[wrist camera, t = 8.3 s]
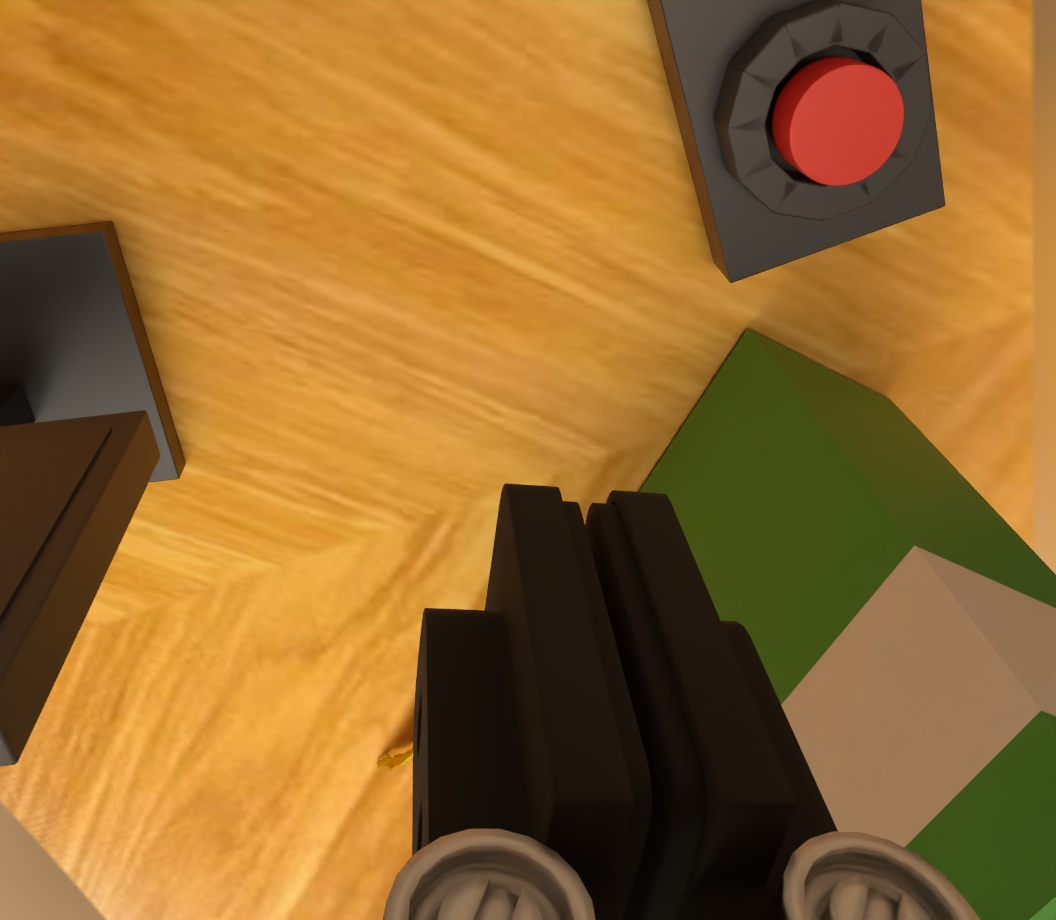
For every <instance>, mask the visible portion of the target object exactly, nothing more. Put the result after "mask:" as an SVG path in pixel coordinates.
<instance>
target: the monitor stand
mask: <svg viewBox="0 0 1056 920" xmlns="http://www.w3.org/2000/svg"><path fill="white" fill-rule="evenodd" d="M142 410H146V411H147V413H148V416H149V420H150V423H151V426H152V429H153V432H154V435H155V439H156V442H157V445H158V448H159V451H160V454H161V456H160V459H159V461H158V463H157V465H156V467H155V470H154V472H153V474H152V476H151V478H150V480H149V482H156V481H165V480H173V479H179V478H180V476H181V473H182V471H183V469H184V466H185V461H184V457H183V454H182V451H181V447H180V444H179V441H178V438H177V434H176V431H175V428H174V424H173V421H172V418H171V414H170V411H169V408H168V405H167V401H166V398H165V395H164V391H163V388H162V385H161V381H160V378H159V375H158V372H157V368H156V365H155V362H154V358H153V355H152V352H151V348H150V345H149V342H148V339H147V335H146V332H145V329H144V325H143V322H142V319H141V315H140V312H139V309H138V306H137V302H136V299H135V296H134V292H133V289H132V286H131V282H130V279H129V276H128V273H127V269H126V266H125V263H124V259H123V256H122V253H121V249H120V246H119V243H118V240H117V236H116V233H115V230H114V226H113V223H112V222H102V223H93V224H83V225H74V226H64V227H55V228H46V229H36V230H27V231H17V232H8V233H0V427H2V426H11V425H20V424H28V423H37V422H46V421H54V420H63V419H72V418H81V417H89V416H98V415H107V414H115V413H124V412H133V411H142Z"/></svg>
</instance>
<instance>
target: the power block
mask: <svg viewBox="0 0 1056 920" xmlns="http://www.w3.org/2000/svg"><path fill="white" fill-rule="evenodd" d="M647 2H648V6H649V10H650V14H651V18H652V21H653V25H654V29H655V33H656V37H657V41H658V45H659V49H660V53H661V57H662V61H663V65H664V69H665V73H666V76H667V80H668V84H669V88H670V92H671V96H672V100H673V104H674V108H675V112H676V116H677V120H678V124H679V128H680V131H681V135H682V139H683V143H684V147H685V151H686V155H687V159H688V163H689V167H690V171H691V175H692V179H693V182H694V186H695V190H696V194H697V198H698V202H699V206H700V210H701V214H702V218H703V222H704V226H705V230H706V234H707V237H708V241H709V245H710V249H711V253H712V257H713V261H714V263H715V265H716V266H717V267H718V268H719V269H720V271H721V272H722V273H723V274H724V276H725V277H726V278H727V279H728V281H729V282H730V283H733V282H736V281H738V280H741V279H744V278H747V277H749V276H752V275H755V274H758V273H761V272H763V271H766V270H769V269H772V268H774V267H777V266H780V265H783V264H786V263H788V262H791V261H794V260H797V259H799V258H802V257H805V256H808V255H811V254H813V253H816V252H819V251H822V250H824V249H827V248H830V247H833V246H836V245H838V244H841V243H844V242H847V241H849V240H852V239H855V238H858V237H861V236H863V235H866V234H869V233H872V232H874V231H877V230H880V229H883V228H886V227H888V226H891V225H894V224H897V223H899V222H902V221H905V220H908V219H911V218H913V217H916V216H919V215H922V214H924V213H927V212H930V211H933V210H936V209H938V208H941V207H944V206H945V199H944V190H943V182H942V174H941V165H940V157H939V148H938V140H937V131H936V123H935V114H934V106H933V98H932V89H931V81H930V72H929V64H928V55H927V47H926V38H925V30H924V22H923V13H922V5H921V0H647ZM831 56H842V57H848V58H851V59H854V60H857V61H860V62H863V63H865V64H868V65H871V66H874V67H876V68H878V69H880V70H882V71H883V72H885V73H886V74H887V75H888V76H890V77H891V78H892V80H893V81H894V82H895V84H896V85H897V87H898V89H899V91H900V93H901V96H902V99H903V104H904V123H903V129H902V132H901V136H900V139H899V141H898V143H897V145H896V147H895V149H894V151H893V152H892V154H891V155H890V157H889V158H888V159H887V160H886V162H885V163H884V164H883V165H882V166H881V167H880V168H879V169H877V170H876V171H875V172H874V173H872V174H871V175H869V176H868V177H866V178H864V179H862V180H860V181H858V182H855V183H852V184H848V185H842V186H830V185H824V184H820V183H818V182H816V181H813V180H812V179H810V178H809V177H807V176H806V175H804V174H803V173H802V172H800V171H799V170H797V169H796V168H794V167H793V166H792V165H790V164H789V163H788V162H787V161H786V160H785V159H784V158H783V157H782V156H781V154H780V152H779V151H778V149H777V147H776V144H775V141H774V138H773V132H772V118H773V112H774V108H775V104H776V102H777V99H778V97H779V95H780V93H781V91H782V89H783V88H784V86H785V85H786V83H787V82H788V81H789V80H790V78H791V77H792V76H793V75H794V74H795V73H796V72H798V71H799V70H800V69H802V68H803V67H804V66H806V65H808V64H809V63H811V62H814V61H816V60H818V59H822V58H825V57H831Z"/></svg>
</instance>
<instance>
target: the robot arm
mask: <svg viewBox="0 0 1056 920" xmlns="http://www.w3.org/2000/svg"><path fill="white" fill-rule="evenodd" d="M383 920H980V919H979V918H978V916H977V915H976V913H975V912H974V910H973V909H972V908H971V906H970V905H969V903H968V902H967V901H966V899H965V898H964V897H963V896H962V895H961V894H960V892H959V891H958V890H957V889H956V888H955V887H954V886H953V884H952V883H951V882H950V881H949V880H948V879H947V878H946V876H945V875H944V874H942V873H941V872H940V871H938V870H937V869H936V868H935V867H933V866H932V865H931V864H929V863H928V862H927V861H925V860H924V859H923V858H922V857H920V856H919V855H918V854H916V853H914V852H912V851H910V850H908V849H906V848H904V847H902V846H900V845H898V844H896V843H894V842H892V841H890V840H888V839H884V838H880V837H876V836H873V835H869V834H865V833H861V832H838V830H837V828H836V826H835V823H834V821H833V819H832V817H831V814H830V812H829V810H828V808H827V806H826V803H825V801H824V799H823V797H822V794H821V792H820V790H819V788H818V786H817V783H816V781H815V779H814V777H813V774H812V772H811V770H810V768H809V766H808V763H807V761H806V759H805V757H804V754H803V752H802V750H801V748H800V746H799V743H798V741H797V739H796V737H795V734H794V732H793V730H792V728H791V726H790V723H789V721H788V719H787V717H786V714H785V712H784V710H783V708H782V706H781V703H780V701H779V699H778V697H777V694H776V692H775V690H774V688H773V686H772V683H771V681H770V679H769V677H768V674H767V672H766V670H765V668H764V666H763V663H762V661H761V659H760V657H759V655H758V652H757V650H756V648H755V646H754V643H753V641H752V639H751V637H750V635H749V633H748V632H747V630H746V629H745V627H744V626H743V625H742V624H740V623H739V622H737V621H720V618H719V616H718V613H717V611H716V609H715V606H714V604H713V601H712V599H711V597H710V594H709V592H708V589H707V587H706V585H705V582H704V580H703V578H702V575H701V573H700V570H699V568H698V566H697V563H696V561H695V558H694V556H693V554H692V551H691V549H690V546H689V544H688V542H687V539H686V537H685V535H684V532H683V530H682V527H681V525H680V523H679V520H678V518H677V515H676V513H675V511H674V508H673V506H672V503H671V501H670V499H669V498H668V496H667V495H666V494H663V493H647V492H631V491H615V490H613V491H612V492H611V493H610V495H609V497H608V499H607V503H606V504H601V503H592V504H591V505H590V508H589V510H588V514H587V519H586V524H585V525H584V521H583V517H582V513H581V510H580V506H579V504H578V503H577V502H568V501H562V497H561V493H560V490H559V488H558V487H551V486H535V485H519V484H504V486H503V489H502V493H501V498H500V505H499V512H498V519H497V526H496V533H495V540H494V548H493V555H492V562H491V569H490V576H489V584H488V591H487V598H486V605H485V611H482V610H458V609H434V608H425V609H424V613H423V618H422V627H421V636H420V646H419V656H418V667H417V678H416V692H415V709H414V732H413V843H412V858H411V859H410V860H409V861H408V862H407V863H406V865H405V866H404V867H403V868H402V869H401V871H400V872H399V873H398V874H397V876H396V879H395V881H394V884H393V886H392V889H391V891H390V894H389V897H388V899H387V902H386V906H385V911H384V916H383Z"/></svg>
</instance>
